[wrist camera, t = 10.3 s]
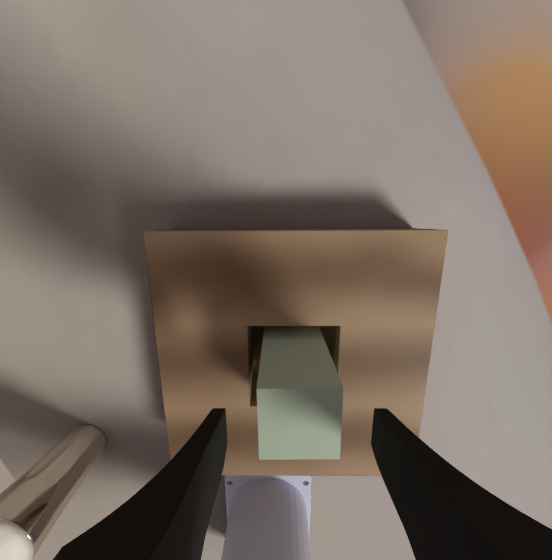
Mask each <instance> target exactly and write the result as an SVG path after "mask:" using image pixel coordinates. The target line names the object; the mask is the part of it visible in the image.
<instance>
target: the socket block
mask: <svg viewBox="0 0 552 560" xmlns="http://www.w3.org/2000/svg"><path fill="white" fill-rule="evenodd" d="M143 236H144V244H145V252H146V261H147V269H148V277H149V286H150V294H151V302H152V311H153V319H154V327H155V336H156V344H157V352H158V361H159V369H160V377H161V386H162V394H163V402H164V411H165V419H166V427H167V436H168V444H169V452H170V460H171V459H172V458H173V457H174V456H175V455H176V454H177V453H178V451H179V450H180V449H181V448H182V447H183V446H184V445H185V443H186V442H187V441H188V440H189V439H190V437H191V436H192V435H193V434H194V432H195V431H196V430H197V429H198V427H199V426H200V425H201V423H202V422H203V421H204V419H205V418H206V416H207V415H208V414H209V412H210V411H211V410H212V409H213V408H226V425H227V442H228V444H227V450H226V456H225V462H224V468H223V471H222V475H226V476H382V475H381V473H380V471H379V468H378V465H377V462H376V459H375V456H374V453H373V449H372V446H371V436H372V425H373V414H374V408H387V409H388V410H389V411H390V412H391V413H392V414H394V415H395V416H396V417H397V418H398V419H399V420H400V421H401V422H402V423H403V424H404V425H405V426H406V427H407V428H408V429H410V430H411V431H412V432H413V433H414V434H415V435H416V436H417V437H419V430H420V423H421V417H422V410H423V403H424V396H425V389H426V382H427V375H428V368H429V361H430V354H431V347H432V340H433V333H434V326H435V319H436V312H437V305H438V298H439V291H440V284H441V277H442V270H443V263H444V256H445V249H446V243H447V236H448V230H436V229H417V228H371V229H171V230H158V231H145V232H143ZM264 326H319V327H320V330H321V332H322V335H323V337H324V340H325V342H326V345H327V347H328V350H329V352H330V355H331V358H332V360H333V363H334V365H335V368H336V370H337V373H338V375H339V378H340V380H341V383H342V386H343V388H344V389H343V408H342V428H341V447H340V459H299V460H259V444H258V416H257V381H258V373H259V366H260V358H261V350H262V342H263V334H264Z"/></svg>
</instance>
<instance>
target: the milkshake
mask: <svg viewBox="0 0 552 560" xmlns="http://www.w3.org/2000/svg"><path fill="white" fill-rule="evenodd" d="M105 444H106V438H105V436H104V435H103V433H102V431H101V430H99V429H97V428H95V427H94V426H92V425H80V426H78V427H77V428H75V429H74V430H73V431H71V432H70V433H69V434H68V435H67V436H66V437H65V438H63V439H62V440H61V441H60V442H59V443H58V444H57V445H56V446H54V447H53V448H52V449H51V450H50V451H49V452H48V453H47V454H46V455H44V456H43V457H42V458H41V459H40V460H39V461H38V462H37V463H35V464H34V465H33V466H32V467H31V468H30V469H29V470H28V471H27V472H25V473H24V474H23V475H22V476H21V477H20V478H19V479H17V480H16V481H15V482H14V483H13V484H11V485H10V486H9V487H8V488H7V489H5V490H4V491H3V492H2V493H1V494H0V560H32V559H33V557H34V555H35V554H36V552H37V551H38V549H39V548H40V546H41V544H42V543H43V541H44V540H45V538H46V537H47V535H48V533H49V532H50V530H51V529H52V527H53V526H54V524H55V523H56V521H57V520H58V518H59V516H60V515H61V513H62V512H63V510H64V509H65V507H66V506H67V504H68V503H69V501H70V500H71V498H72V497H73V495H74V494H75V492H76V491H77V489H78V488H79V486H80V485H81V483H82V482H83V480H84V479H85V477H86V476H87V474H88V473H89V471H90V470H91V468H92V467H93V465H94V464H95V462H96V461H97V459H98V458H99V456H100V455H101V453H102V452H103V450H104V449H105Z"/></svg>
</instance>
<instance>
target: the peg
mask: <svg viewBox="0 0 552 560" xmlns="http://www.w3.org/2000/svg"><path fill="white" fill-rule="evenodd" d="M343 389H344V388H343V386H342V383H341V380H340V378H339V375H338V373H337V370H336V368H335V365H334V363H333V360H332V358H331V355H330V352H329V350H328V347H327V345H326V342H325V340H324V337H323V335H322V332H321V330H320V327H319V326H264V334H263V342H262V350H261V358H260V366H259V373H258V381H257V416H258V444H259V460H299V459H340V447H341V428H342V408H343Z"/></svg>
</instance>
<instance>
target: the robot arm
mask: <svg viewBox="0 0 552 560" xmlns="http://www.w3.org/2000/svg"><path fill="white" fill-rule="evenodd" d="M227 444H228V442H227V425H226V408H213V409H212V410H211V411H210V412H209V414H208V415H207V416H206V418H205V419H204V421H203V422H202V423H201V425H200V426H199V427H198V429H197V430H196V431H195V432H194V434H193V435H192V436H191V437H190V439H189V440H188V441H187V442H186V443H185V445H184V446H183V447H182V448H181V449H180V450H179V451H178V453H177V454H176V455H175V456H174V457H173V458H172V459H171V460H170V461H169V462H168V464H167V465H166V466H165V467H164V468H163V469H162V470H161V471H160V472H159V473H158V474H157V475H156V476H155V477H154V478H153V479H151V480H150V481H149V482H148V483H147V484H146V485H145V486H144V487H143V488H141V489H140V490H139V491H138V492H137V493H136V494H135V495H134V496H132V497H131V498H130V499H129V500H128V501H126V502H125V503H124V504H123V505H121V506H120V507H119V508H117V509H116V510H115V511H114V512H112V513H111V514H110V515H108V516H107V517H106V518H104V519H103V520H102V521H100V522H99V523H97V524H96V525H95V526H93V527H92V528H90V529H89V530H87V531H86V532H84V533H83V534H81V535H80V536H78V537H77V538H75V539H74V540H72V541H71V542H69V543H68V544H66V545H65V546H63V547H62V548H61V550H60V551H59V552H58V554H57V555H56V557H55V558H54V559H53V560H201V555H202V550H203V545H204V540H205V535H206V531H207V527H208V523H209V519H210V515H211V512H212V508H213V505H214V501H215V497H216V494H217V490H218V486H219V483H220V479H221V475H222V471H223V468H224V462H225V456H226V450H227ZM371 446H372V449H373V453H374V456H375V459H376V462H377V465H378V468H379V471H380V473H381V475H382V478H383V480H384V482H385V485H386V487H387V489H388V492H389V494H390V496H391V498H392V501H393V503H394V505H395V508H396V510H397V512H398V514H399V517H400V519H401V521H402V524H403V526H404V529H405V531H406V534H407V536H408V539H409V541H410V544H411V547H412V550H413V553H414V556H415V559H416V560H552V529H550V528H548V527H546V526H545V525H543V524H541V523H539V522H538V521H536V520H534V519H532V518H531V517H529V516H527V515H525V514H524V513H522V512H520V511H518V510H517V509H515V508H514V507H512V506H510V505H509V504H507V503H505V502H504V501H502V500H501V499H499V498H498V497H496V496H494V495H493V494H491V493H490V492H488V491H487V490H485V489H484V488H482V487H481V486H479V485H478V484H476V483H475V482H474V481H472V480H471V479H469V478H468V477H467V476H465V475H464V474H463V473H461V472H460V471H458V470H457V469H456V468H454V467H453V466H452V465H451V464H449V463H448V462H447V461H445V460H444V459H443V458H442V457H441V456H439V455H438V454H437V453H436V452H434V451H433V450H432V449H431V448H430V447H429V446H427V445H426V444H425V443H424V442H423V441H422V440H421V439H419V438H418V437H417V436H416V435H415V434H414V433H413V432H412V431H411V430H410V429H408V428H407V427H406V426H405V425H404V424H403V423H402V422H401V421H400V420H399V419H398V418H397V417H396V416H395V415H394V414H392V413H391V412H390V411H389V410H388V409H387V408H374V414H373V425H372V436H371ZM225 494H226V510H227V529H226V535H225V541H224V547H223V553H222V559H221V560H311V550H310V540H309V538H310V507H311V476H226V475H225Z"/></svg>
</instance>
